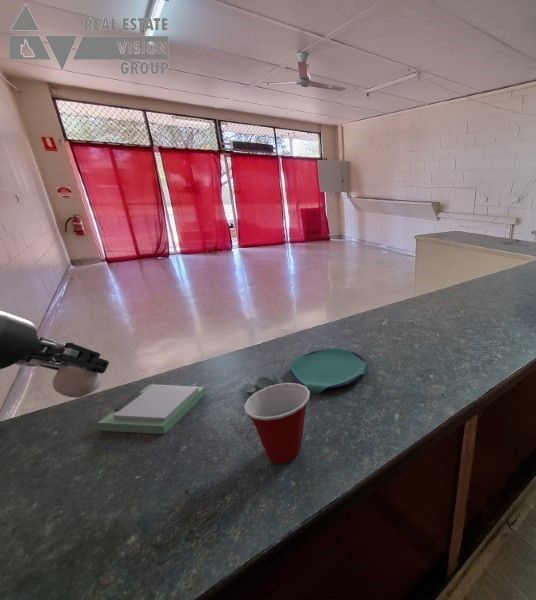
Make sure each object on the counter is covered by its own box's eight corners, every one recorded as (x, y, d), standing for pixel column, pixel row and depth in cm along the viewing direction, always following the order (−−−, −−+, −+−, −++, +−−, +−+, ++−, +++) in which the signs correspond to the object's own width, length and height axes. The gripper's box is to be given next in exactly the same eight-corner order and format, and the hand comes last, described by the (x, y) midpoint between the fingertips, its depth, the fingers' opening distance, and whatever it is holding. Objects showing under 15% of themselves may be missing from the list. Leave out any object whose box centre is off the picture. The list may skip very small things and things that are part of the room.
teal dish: (380, 376, 84) (381, 368, 83) (264, 424, 65) (263, 415, 65) (342, 348, 98) (342, 341, 97) (238, 380, 80) (237, 373, 79)
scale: (100, 430, 62) (96, 419, 61) (151, 391, 74) (148, 381, 74) (165, 434, 62) (162, 422, 61) (205, 394, 74) (203, 384, 73)
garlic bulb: (116, 381, 59) (105, 342, 56) (90, 403, 53) (76, 361, 50) (75, 383, 58) (62, 344, 55) (44, 405, 52) (28, 362, 49)
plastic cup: (296, 422, 66) (292, 373, 62) (324, 452, 59) (321, 398, 55) (242, 449, 59) (234, 395, 55) (267, 487, 52) (258, 427, 48)
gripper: (40, 309, 42) (134, 348, 57) (-64, 304, 42) (57, 343, 57) (5, 365, 39) (115, 390, 54) (-107, 358, 39) (33, 385, 54)
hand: (85, 366), depth 55 cm, fingers closed on garlic bulb, 6 cm apart
